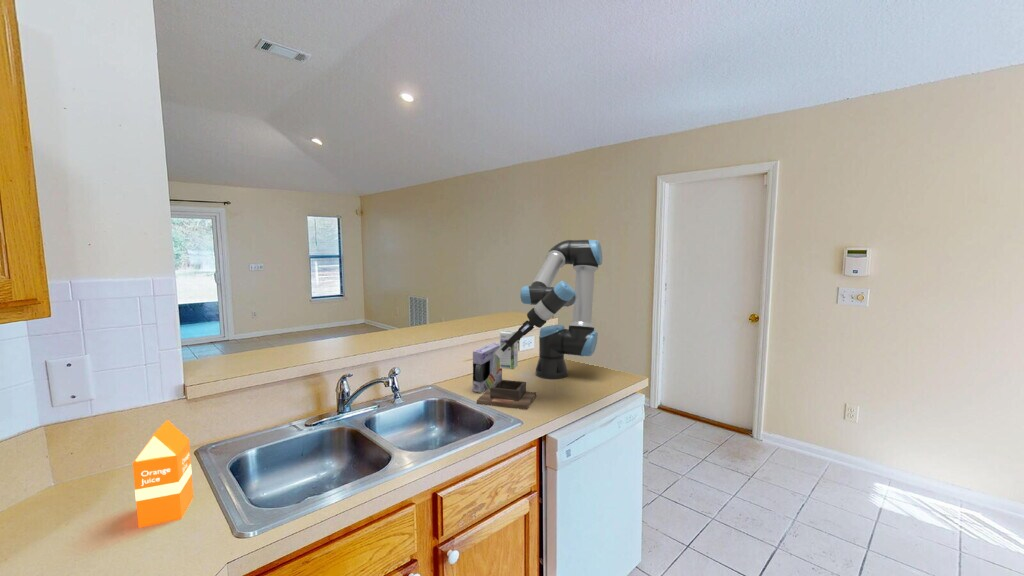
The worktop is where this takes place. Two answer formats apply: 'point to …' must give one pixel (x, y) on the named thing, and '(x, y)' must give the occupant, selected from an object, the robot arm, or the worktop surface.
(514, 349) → the syrup box
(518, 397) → the socket board
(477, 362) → the cake pan box
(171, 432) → the orange juice
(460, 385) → the worktop surface
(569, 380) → the worktop surface
